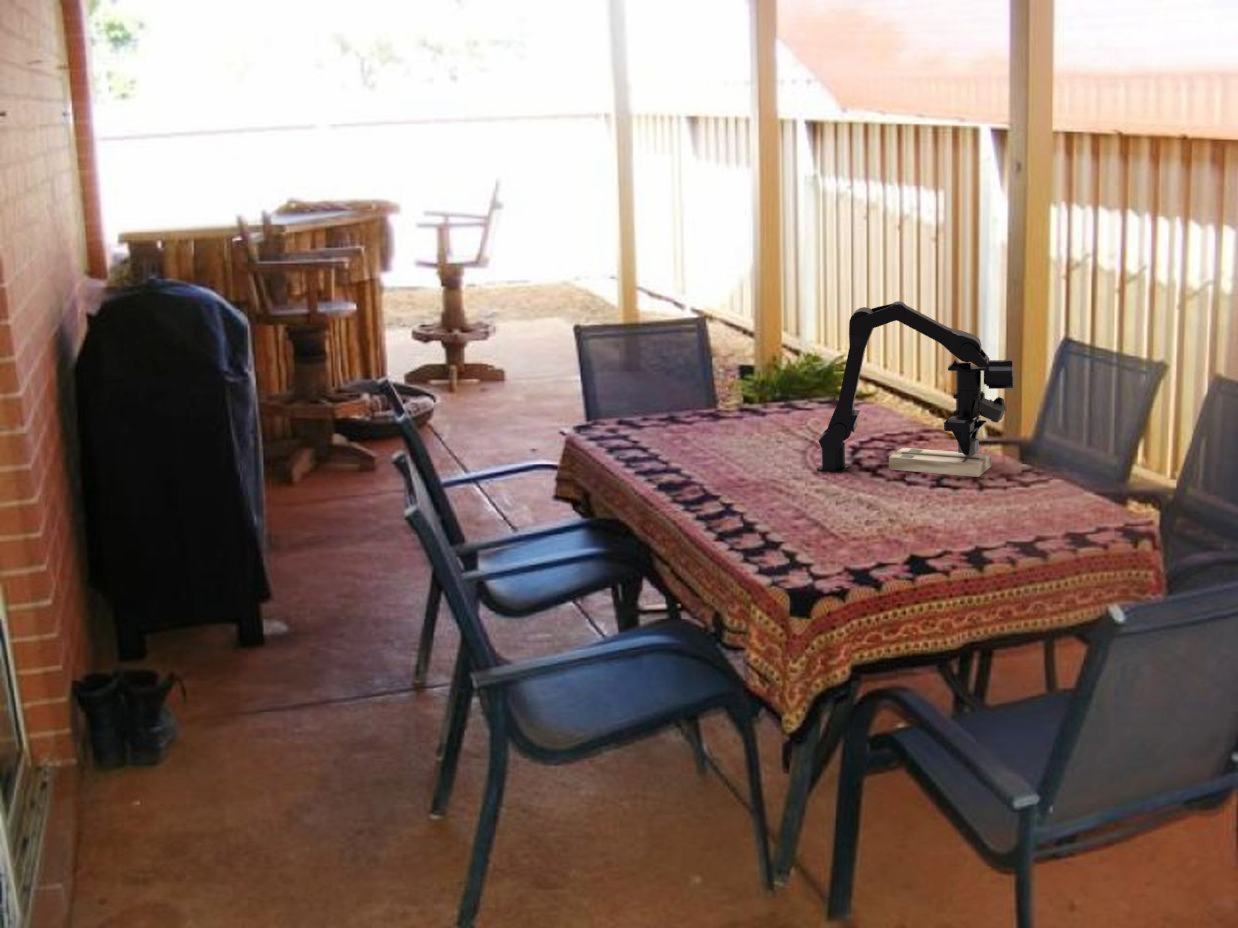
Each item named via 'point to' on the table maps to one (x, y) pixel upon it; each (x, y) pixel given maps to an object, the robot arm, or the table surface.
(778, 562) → the table surface
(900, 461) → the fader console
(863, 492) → the table surface
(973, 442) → the fader knob
